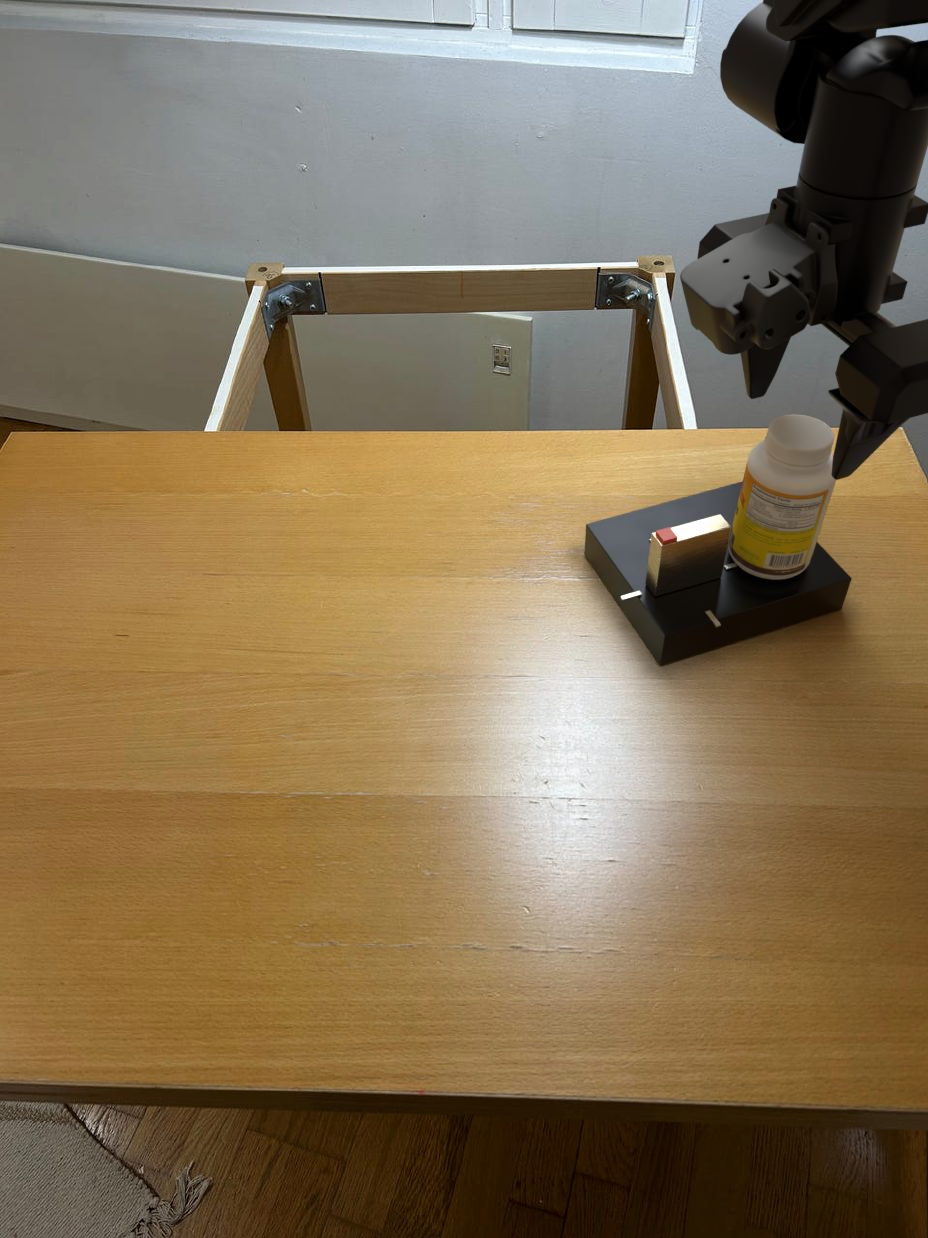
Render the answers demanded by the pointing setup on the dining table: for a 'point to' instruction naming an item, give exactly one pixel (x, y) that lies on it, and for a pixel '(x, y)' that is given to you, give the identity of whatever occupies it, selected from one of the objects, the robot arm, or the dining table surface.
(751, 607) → the console
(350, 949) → the dining table surface
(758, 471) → the supplement bottle
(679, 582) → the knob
